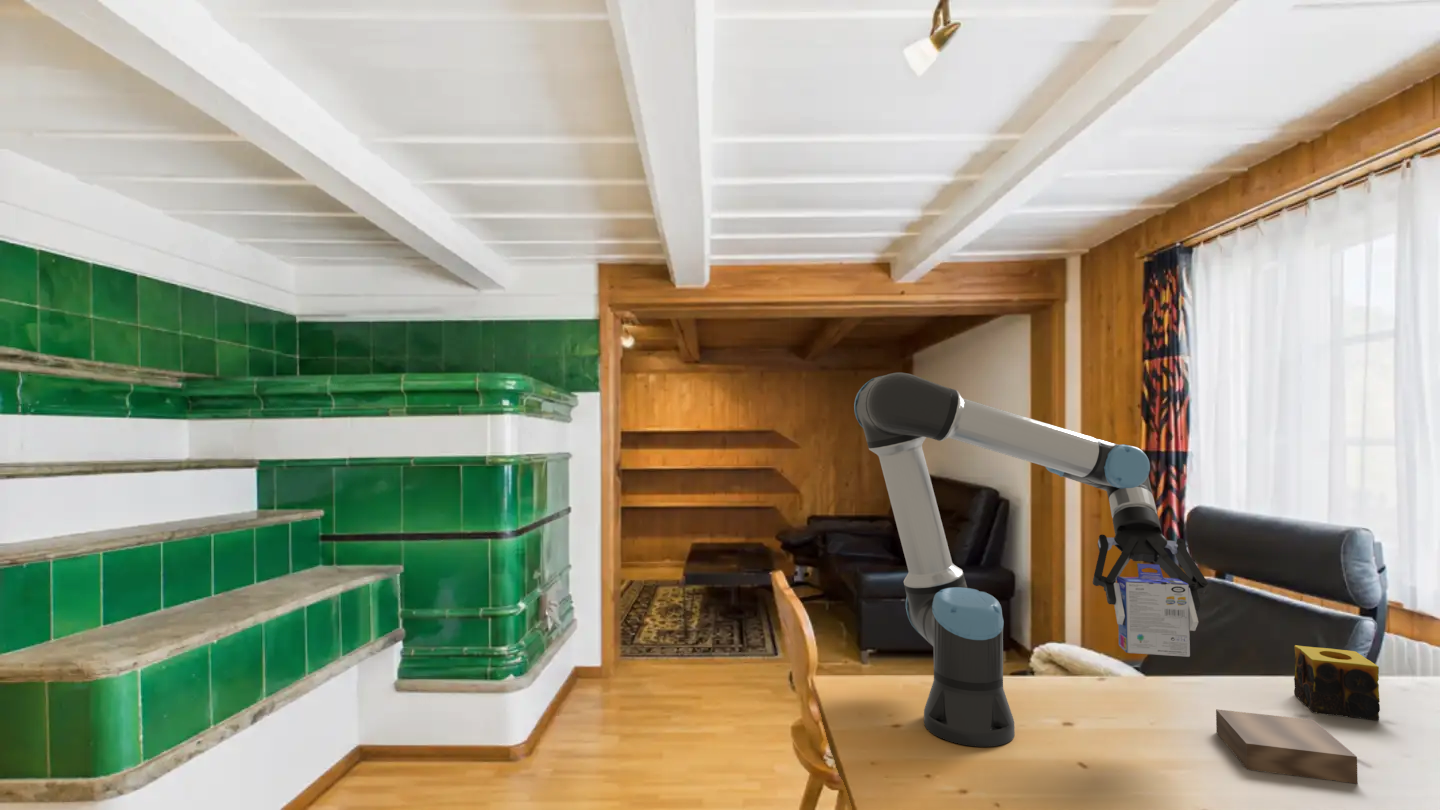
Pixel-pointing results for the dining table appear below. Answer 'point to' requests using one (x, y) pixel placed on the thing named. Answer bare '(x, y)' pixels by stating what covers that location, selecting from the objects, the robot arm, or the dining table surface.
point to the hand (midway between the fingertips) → (1157, 623)
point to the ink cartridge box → (1154, 614)
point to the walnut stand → (1286, 746)
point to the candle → (1337, 682)
